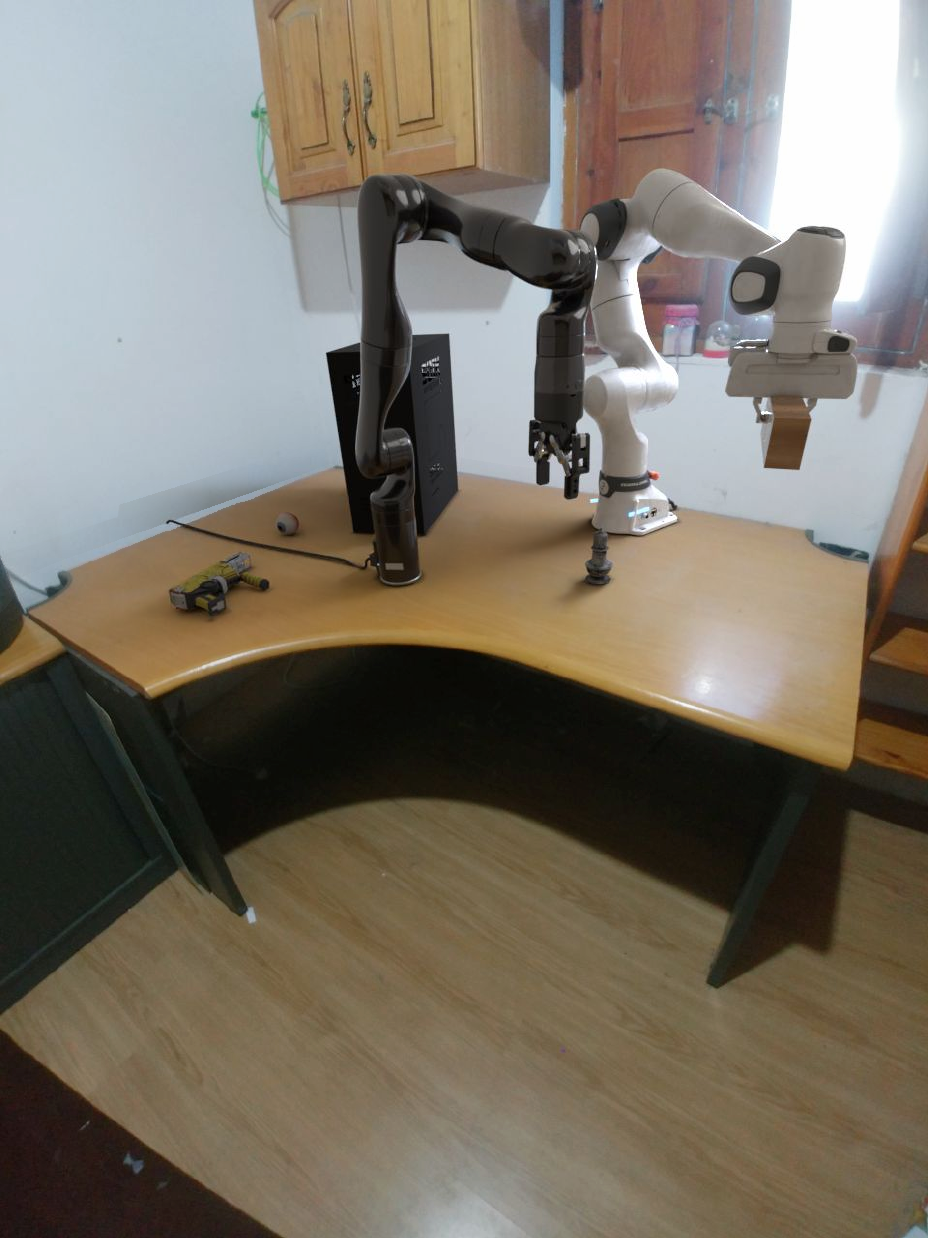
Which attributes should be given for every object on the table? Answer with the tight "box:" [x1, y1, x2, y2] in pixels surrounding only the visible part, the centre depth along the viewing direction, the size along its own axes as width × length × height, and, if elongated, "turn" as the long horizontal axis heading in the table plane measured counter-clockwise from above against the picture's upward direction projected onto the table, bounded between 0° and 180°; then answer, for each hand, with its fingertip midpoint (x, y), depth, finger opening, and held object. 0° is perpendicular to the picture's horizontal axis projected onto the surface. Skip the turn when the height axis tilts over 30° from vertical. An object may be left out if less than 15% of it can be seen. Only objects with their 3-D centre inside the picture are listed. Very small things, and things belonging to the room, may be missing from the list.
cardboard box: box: [325, 333, 459, 536], centre depth 166 cm, size 38×20×45 cm, turn 167°
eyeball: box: [275, 511, 300, 536], centre depth 163 cm, size 6×6×6 cm
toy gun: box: [168, 551, 270, 617], centre depth 135 cm, size 5×24×15 cm
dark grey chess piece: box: [584, 527, 614, 585], centre depth 129 cm, size 6×6×12 cm
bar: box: [760, 396, 813, 471], centre depth 102 cm, size 23×5×8 cm, turn 158°
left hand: (556, 491), depth 99 cm, fingers open, 8 cm apart
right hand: (779, 423), depth 109 cm, fingers closed on bar, 5 cm apart
